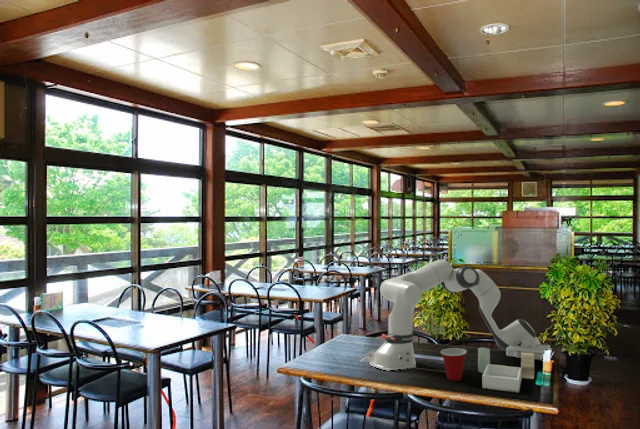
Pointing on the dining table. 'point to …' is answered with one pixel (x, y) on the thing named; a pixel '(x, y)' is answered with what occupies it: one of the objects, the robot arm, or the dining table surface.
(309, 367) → the dining table surface
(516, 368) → the tub
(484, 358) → the ceramic shaker
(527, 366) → the birch block
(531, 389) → the dining table surface
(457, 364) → the plastic cup
